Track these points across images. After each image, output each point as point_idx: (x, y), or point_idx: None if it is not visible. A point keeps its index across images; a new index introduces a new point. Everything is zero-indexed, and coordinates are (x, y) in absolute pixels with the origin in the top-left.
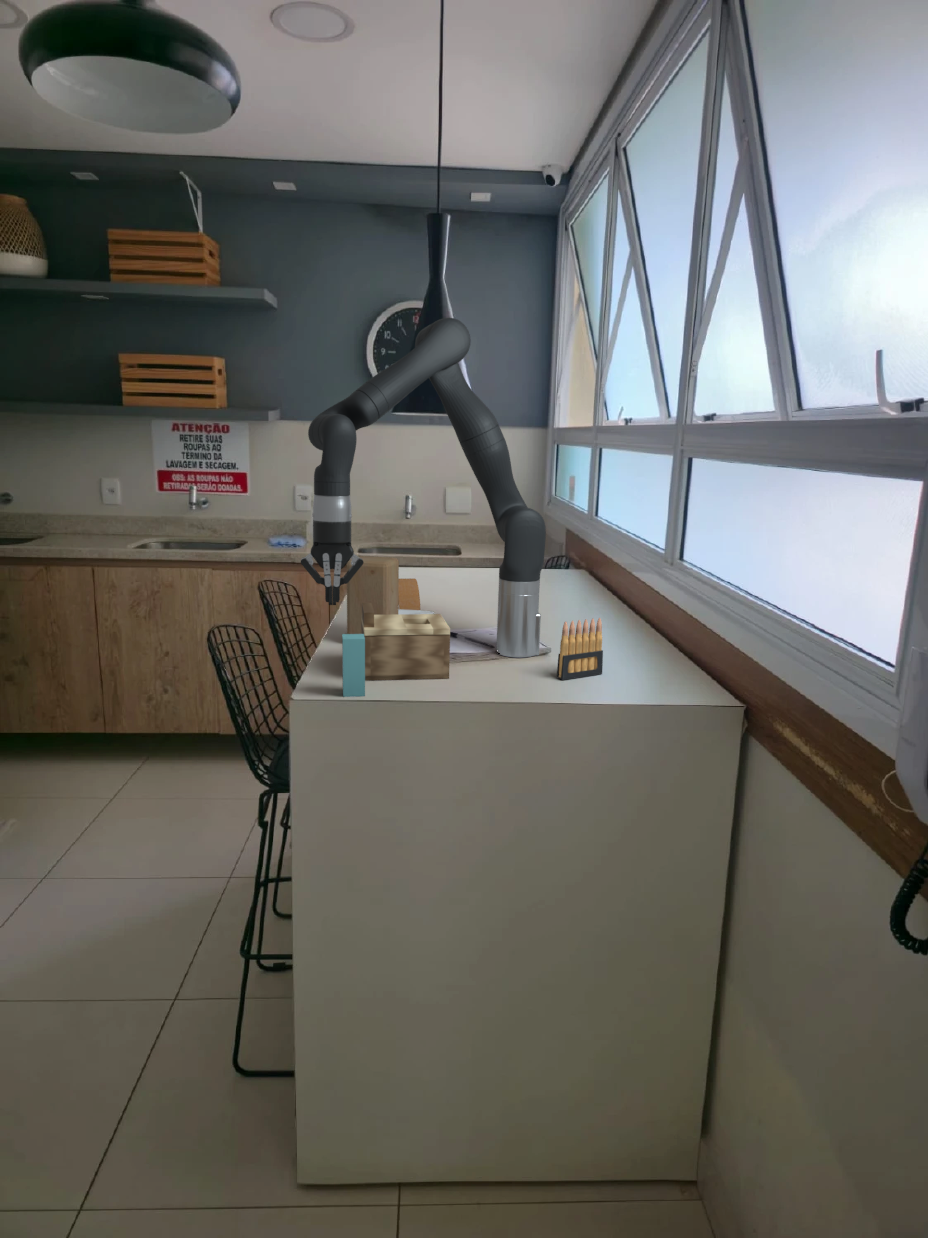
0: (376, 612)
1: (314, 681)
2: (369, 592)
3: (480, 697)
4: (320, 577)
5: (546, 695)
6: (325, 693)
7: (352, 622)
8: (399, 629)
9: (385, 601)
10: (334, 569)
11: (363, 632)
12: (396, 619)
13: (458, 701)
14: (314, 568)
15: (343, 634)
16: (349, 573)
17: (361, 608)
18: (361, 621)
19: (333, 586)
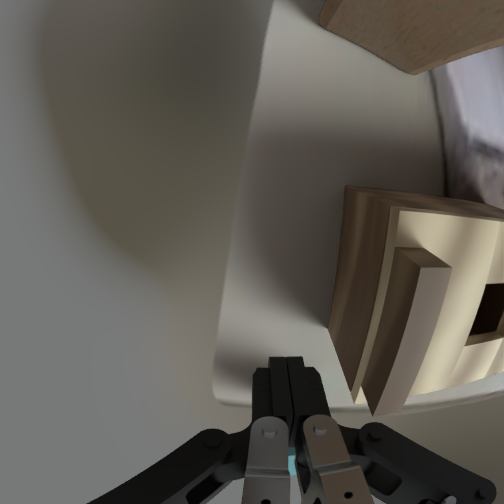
0: (437, 40)
1: (229, 324)
2: (454, 1)
3: (447, 389)
4: (223, 483)
5: (499, 373)
6: (249, 382)
7: (348, 8)
8: (430, 391)
9: (484, 49)
10: (318, 497)
11: (361, 349)
12: (471, 292)
13: (418, 404)
14: (174, 497)
15: (289, 456)
16: (383, 493)
17: (396, 5)
18: (389, 210)
19: (296, 434)
